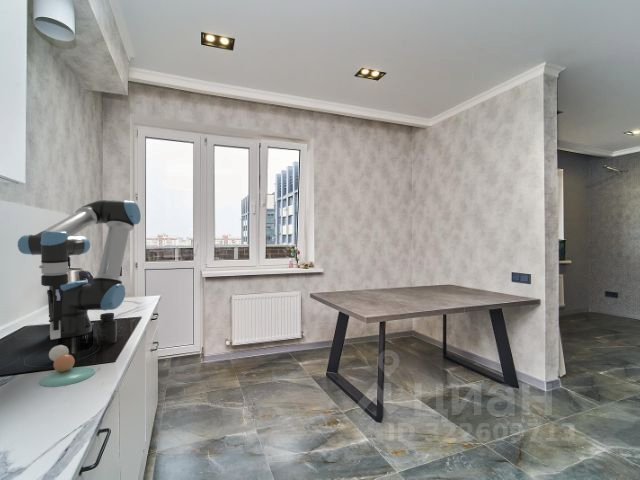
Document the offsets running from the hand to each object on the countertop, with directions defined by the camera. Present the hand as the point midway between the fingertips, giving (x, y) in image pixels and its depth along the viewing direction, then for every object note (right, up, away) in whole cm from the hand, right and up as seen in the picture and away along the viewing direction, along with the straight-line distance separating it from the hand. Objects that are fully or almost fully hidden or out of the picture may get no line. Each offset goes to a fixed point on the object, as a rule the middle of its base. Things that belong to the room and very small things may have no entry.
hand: (55, 338), depth 119 cm
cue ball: (+4, -4, -4) cm, 7 cm away
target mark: (+17, -7, -16) cm, 24 cm away
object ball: (+13, -4, -12) cm, 18 cm away
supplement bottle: (+8, -7, +16) cm, 19 cm away
